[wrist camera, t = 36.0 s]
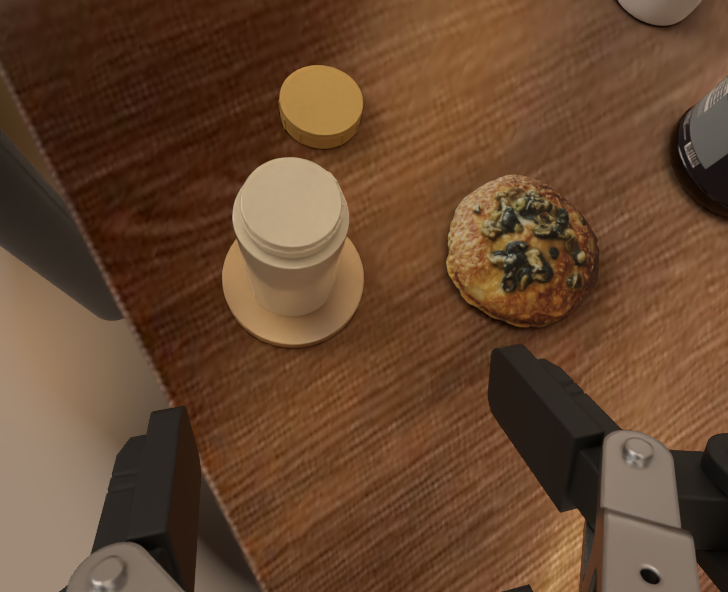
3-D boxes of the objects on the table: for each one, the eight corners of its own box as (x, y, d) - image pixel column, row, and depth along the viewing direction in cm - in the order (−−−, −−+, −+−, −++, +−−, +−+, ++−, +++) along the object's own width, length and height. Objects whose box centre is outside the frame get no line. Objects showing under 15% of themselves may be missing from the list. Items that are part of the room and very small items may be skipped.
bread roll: (617, 306, 36) (655, 283, 31) (468, 353, 35) (484, 336, 30) (553, 173, 39) (578, 134, 34) (416, 213, 38) (422, 178, 33)
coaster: (274, 376, 31) (274, 373, 30) (197, 263, 33) (194, 257, 32) (388, 298, 34) (391, 293, 33) (311, 196, 36) (312, 189, 35)
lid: (347, 76, 39) (350, 59, 37) (369, 141, 38) (373, 127, 36) (271, 87, 38) (270, 71, 36) (291, 155, 36) (291, 141, 35)
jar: (281, 334, 31) (277, 281, 22) (229, 265, 32) (203, 185, 23) (353, 284, 33) (376, 215, 24) (301, 219, 34) (305, 127, 24)
